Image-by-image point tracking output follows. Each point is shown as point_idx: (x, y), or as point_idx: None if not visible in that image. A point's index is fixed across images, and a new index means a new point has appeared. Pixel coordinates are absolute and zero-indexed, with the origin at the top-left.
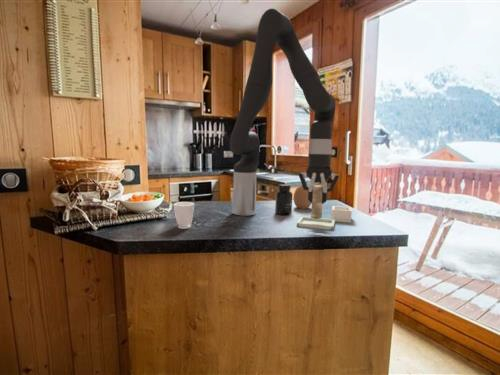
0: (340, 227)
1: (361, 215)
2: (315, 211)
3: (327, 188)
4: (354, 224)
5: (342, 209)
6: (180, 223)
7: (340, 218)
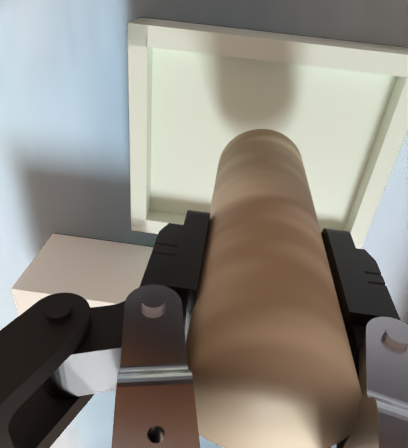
0: (101, 165)
1: None
2: (276, 156)
3: (111, 349)
4: (34, 243)
5: None
6: None
7: (100, 261)
